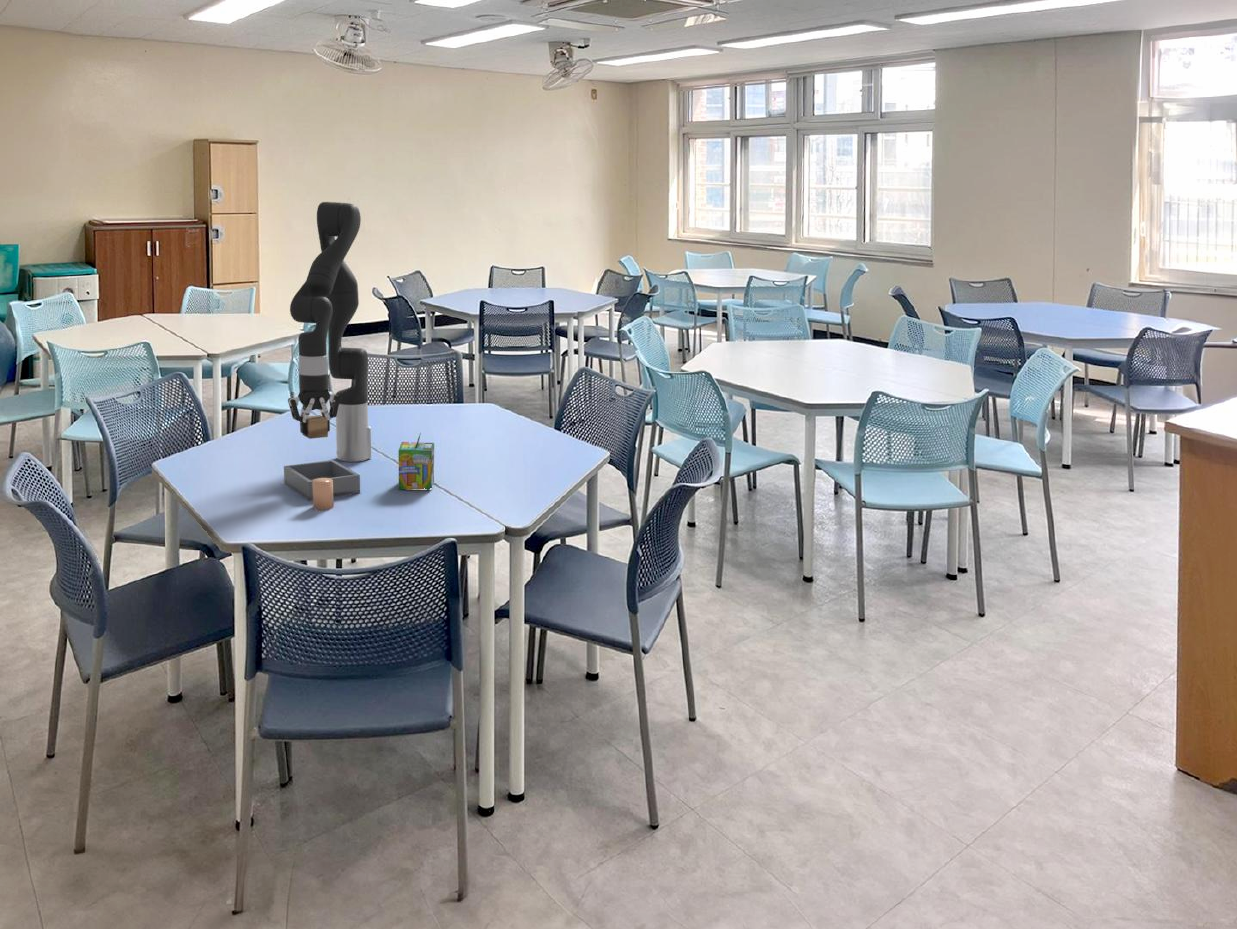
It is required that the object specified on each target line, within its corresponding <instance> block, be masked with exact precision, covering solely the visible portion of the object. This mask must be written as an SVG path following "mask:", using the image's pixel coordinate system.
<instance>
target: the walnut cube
mask: <svg viewBox="0 0 1237 929" xmlns="http://www.w3.org/2000/svg"><path fill="white" fill-rule="evenodd" d="M307 426H308V436H305V437H306V438H307V439H309V440H311V439H313V440H314V439H320V438H328V437H329V432H328V423H327V418H325V417H323V416H322V414H319V415H309V416H308V419H307Z"/></svg>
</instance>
